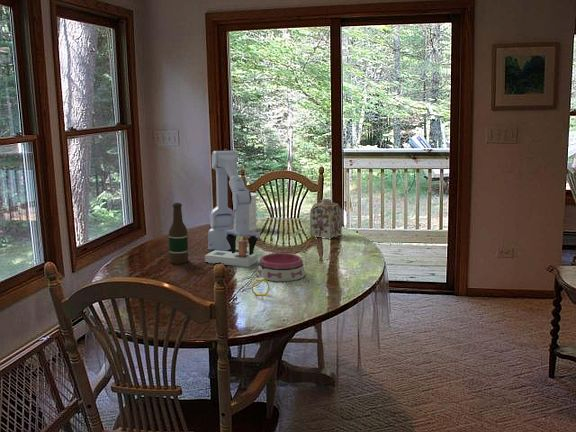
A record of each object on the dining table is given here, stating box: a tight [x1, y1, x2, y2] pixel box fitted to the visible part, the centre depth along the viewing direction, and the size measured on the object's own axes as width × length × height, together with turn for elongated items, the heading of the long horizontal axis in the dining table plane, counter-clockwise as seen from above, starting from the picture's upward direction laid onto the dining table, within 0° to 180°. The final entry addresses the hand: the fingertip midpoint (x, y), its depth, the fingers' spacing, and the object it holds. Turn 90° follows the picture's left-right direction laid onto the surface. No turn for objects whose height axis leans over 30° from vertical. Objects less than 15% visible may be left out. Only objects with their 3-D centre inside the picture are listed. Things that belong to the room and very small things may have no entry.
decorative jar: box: [309, 198, 343, 238], centre depth 288 cm, size 12×12×18 cm
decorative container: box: [249, 192, 259, 232], centre depth 303 cm, size 12×12×18 cm
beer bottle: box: [168, 202, 189, 265], centre depth 241 cm, size 8×8×24 cm
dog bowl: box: [256, 252, 307, 283], centre depth 225 cm, size 18×19×7 cm
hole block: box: [204, 250, 258, 268], centre depth 243 cm, size 19×9×3 cm, turn 71°
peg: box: [238, 239, 247, 258], centre depth 241 cm, size 3×3×9 cm
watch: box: [251, 277, 270, 297], centre depth 201 cm, size 6×3×6 cm, turn 95°
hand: (242, 253), depth 241 cm, fingers open, 7 cm apart
